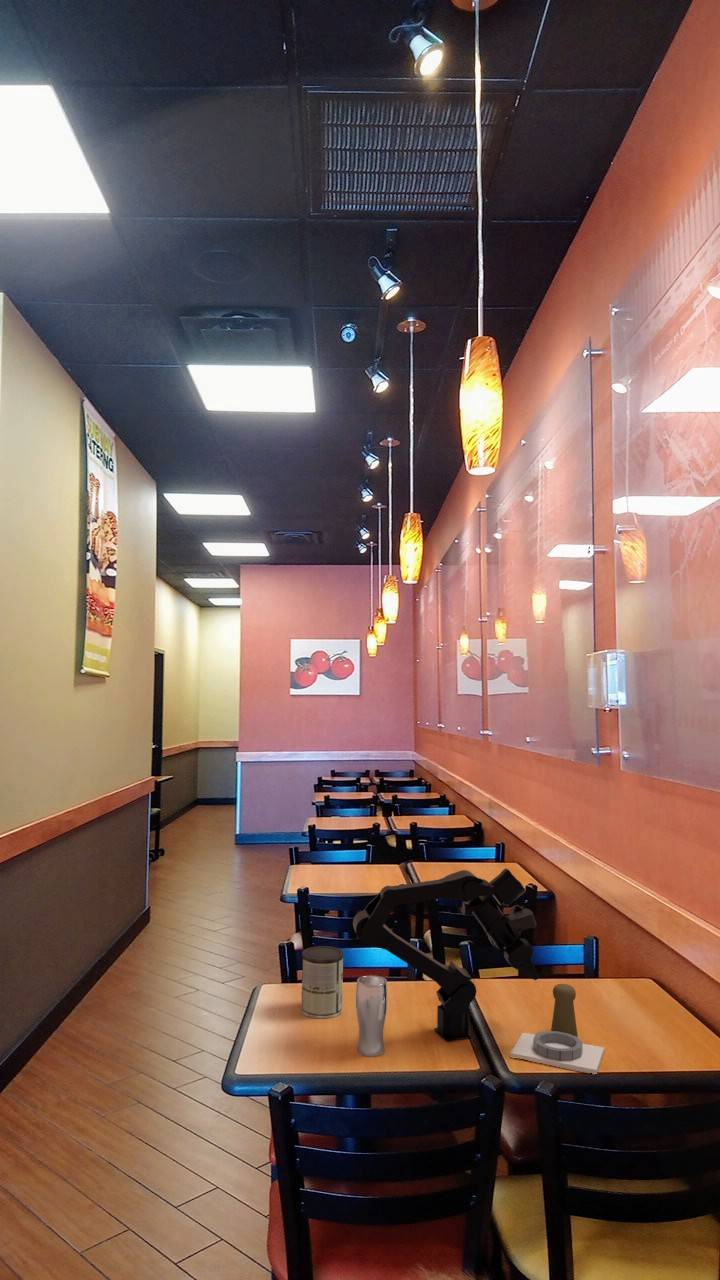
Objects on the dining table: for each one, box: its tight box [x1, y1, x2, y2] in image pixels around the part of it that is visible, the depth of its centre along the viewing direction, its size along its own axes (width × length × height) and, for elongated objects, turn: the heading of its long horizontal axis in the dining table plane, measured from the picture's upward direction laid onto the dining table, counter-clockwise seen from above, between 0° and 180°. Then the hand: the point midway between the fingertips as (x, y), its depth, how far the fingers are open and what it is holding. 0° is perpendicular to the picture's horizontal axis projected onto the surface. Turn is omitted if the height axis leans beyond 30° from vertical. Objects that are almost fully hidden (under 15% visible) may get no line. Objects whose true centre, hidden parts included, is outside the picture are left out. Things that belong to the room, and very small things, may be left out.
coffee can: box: [300, 945, 345, 1020], centre depth 200 cm, size 10×10×14 cm
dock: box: [510, 1030, 605, 1075], centre depth 177 cm, size 18×12×3 cm, turn 66°
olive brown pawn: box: [550, 983, 578, 1037], centre depth 188 cm, size 6×6×11 cm
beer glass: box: [355, 975, 389, 1058], centre depth 177 cm, size 7×7×15 cm
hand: (530, 972), depth 189 cm, fingers open, 9 cm apart
